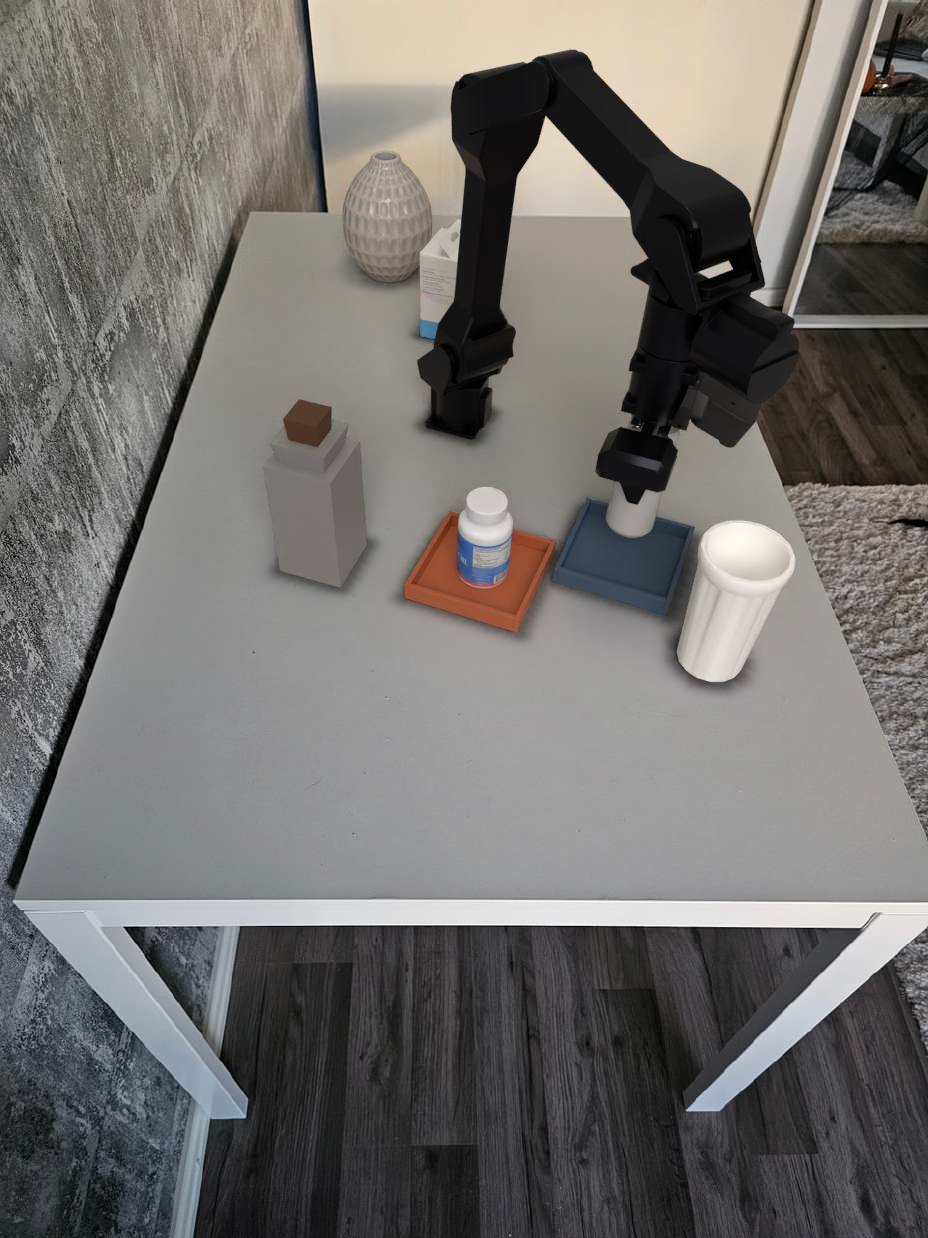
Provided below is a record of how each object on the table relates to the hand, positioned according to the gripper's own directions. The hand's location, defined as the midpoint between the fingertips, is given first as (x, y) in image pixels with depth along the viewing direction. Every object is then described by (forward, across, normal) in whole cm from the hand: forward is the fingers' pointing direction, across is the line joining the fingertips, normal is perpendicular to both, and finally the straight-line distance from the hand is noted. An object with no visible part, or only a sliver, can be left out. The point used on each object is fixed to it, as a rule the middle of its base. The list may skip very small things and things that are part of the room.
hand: (639, 486), depth 88 cm
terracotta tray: (+10, -8, +13) cm, 18 cm away
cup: (+10, -10, -11) cm, 18 cm away
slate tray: (+10, 0, 0) cm, 10 cm away
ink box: (+10, +36, +33) cm, 50 cm away
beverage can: (+5, -1, 0) cm, 5 cm away
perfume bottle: (+10, -12, +29) cm, 33 cm away
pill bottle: (+10, -8, +13) cm, 18 cm away
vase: (+10, +46, +48) cm, 67 cm away
